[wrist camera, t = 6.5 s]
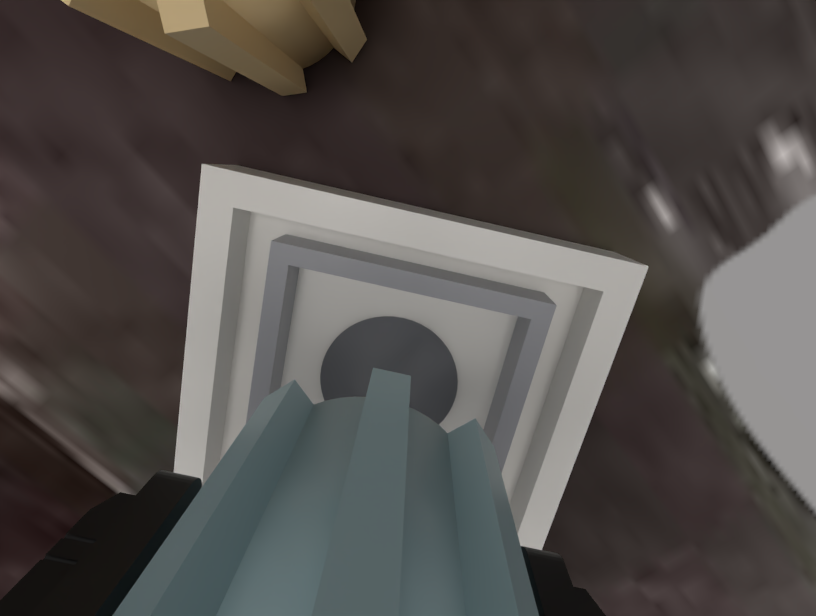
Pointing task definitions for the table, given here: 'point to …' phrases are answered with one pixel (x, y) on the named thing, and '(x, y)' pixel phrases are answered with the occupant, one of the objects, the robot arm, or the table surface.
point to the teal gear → (344, 518)
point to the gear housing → (398, 323)
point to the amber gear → (240, 34)
